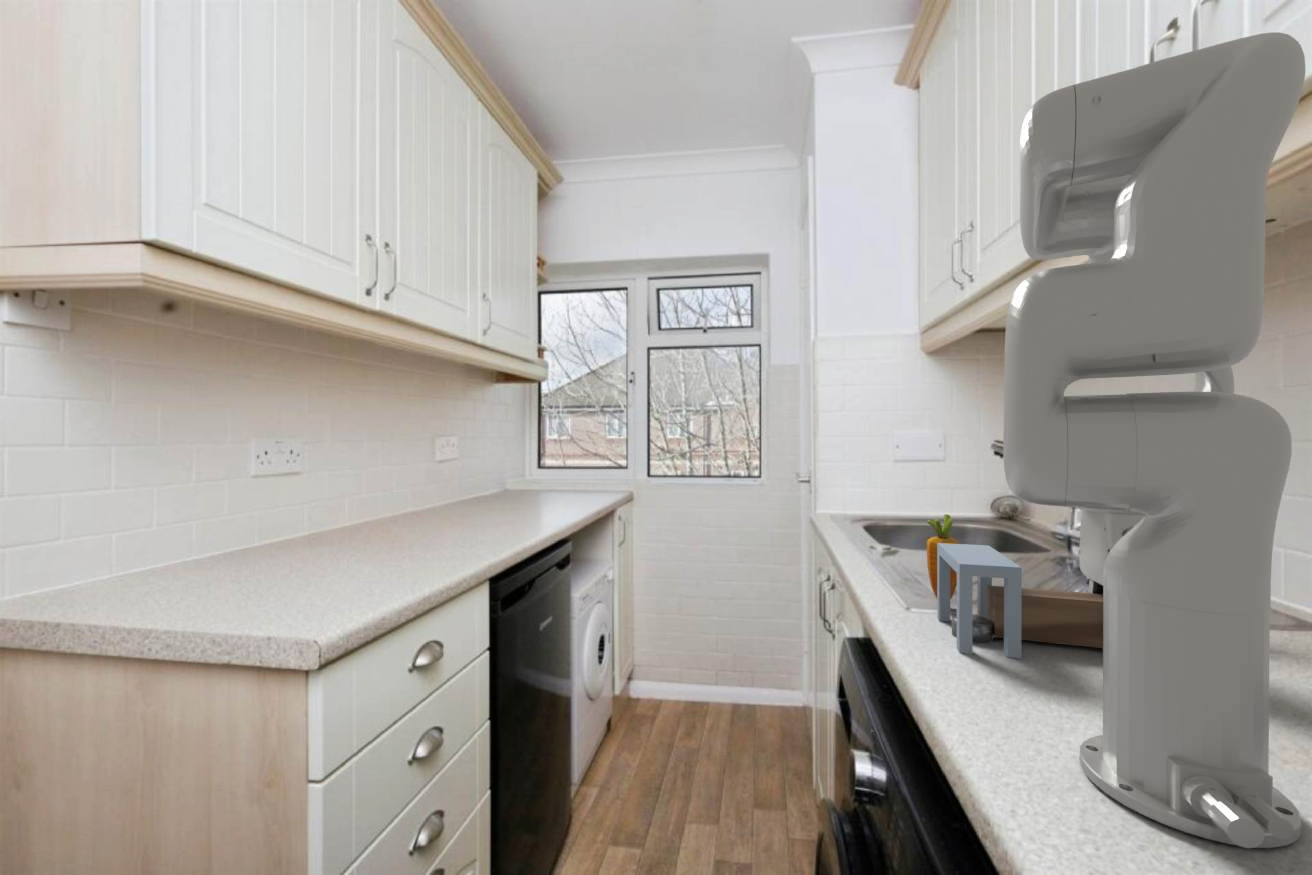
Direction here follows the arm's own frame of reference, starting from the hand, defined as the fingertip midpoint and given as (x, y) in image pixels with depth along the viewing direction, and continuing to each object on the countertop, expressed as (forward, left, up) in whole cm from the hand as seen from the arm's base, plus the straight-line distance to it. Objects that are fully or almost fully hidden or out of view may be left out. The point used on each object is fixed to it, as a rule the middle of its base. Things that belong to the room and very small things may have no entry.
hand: (1112, 636), depth 73 cm
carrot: (+13, +18, -2) cm, 22 cm away
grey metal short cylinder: (0, +16, -2) cm, 17 cm away
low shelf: (0, +16, -2) cm, 16 cm away
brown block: (0, +5, -1) cm, 5 cm away
